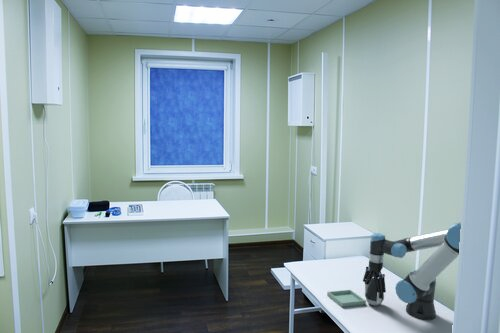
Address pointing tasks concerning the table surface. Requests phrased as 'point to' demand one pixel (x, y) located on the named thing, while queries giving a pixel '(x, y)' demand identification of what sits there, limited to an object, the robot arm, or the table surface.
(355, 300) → the tray
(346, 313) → the table surface
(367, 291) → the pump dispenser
